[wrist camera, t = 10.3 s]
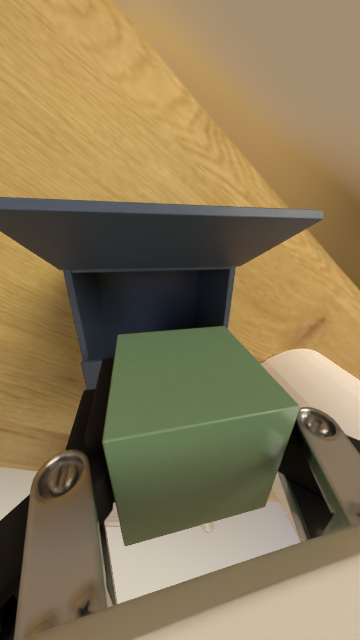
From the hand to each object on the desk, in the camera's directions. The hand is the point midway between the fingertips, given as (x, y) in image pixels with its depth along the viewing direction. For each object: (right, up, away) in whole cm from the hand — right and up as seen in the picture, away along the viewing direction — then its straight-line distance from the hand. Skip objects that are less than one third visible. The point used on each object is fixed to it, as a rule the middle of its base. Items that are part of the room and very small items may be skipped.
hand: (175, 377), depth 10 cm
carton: (-4, +4, +17) cm, 18 cm away
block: (0, 0, 0) cm, 0 cm away
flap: (-1, +7, +1) cm, 7 cm away
